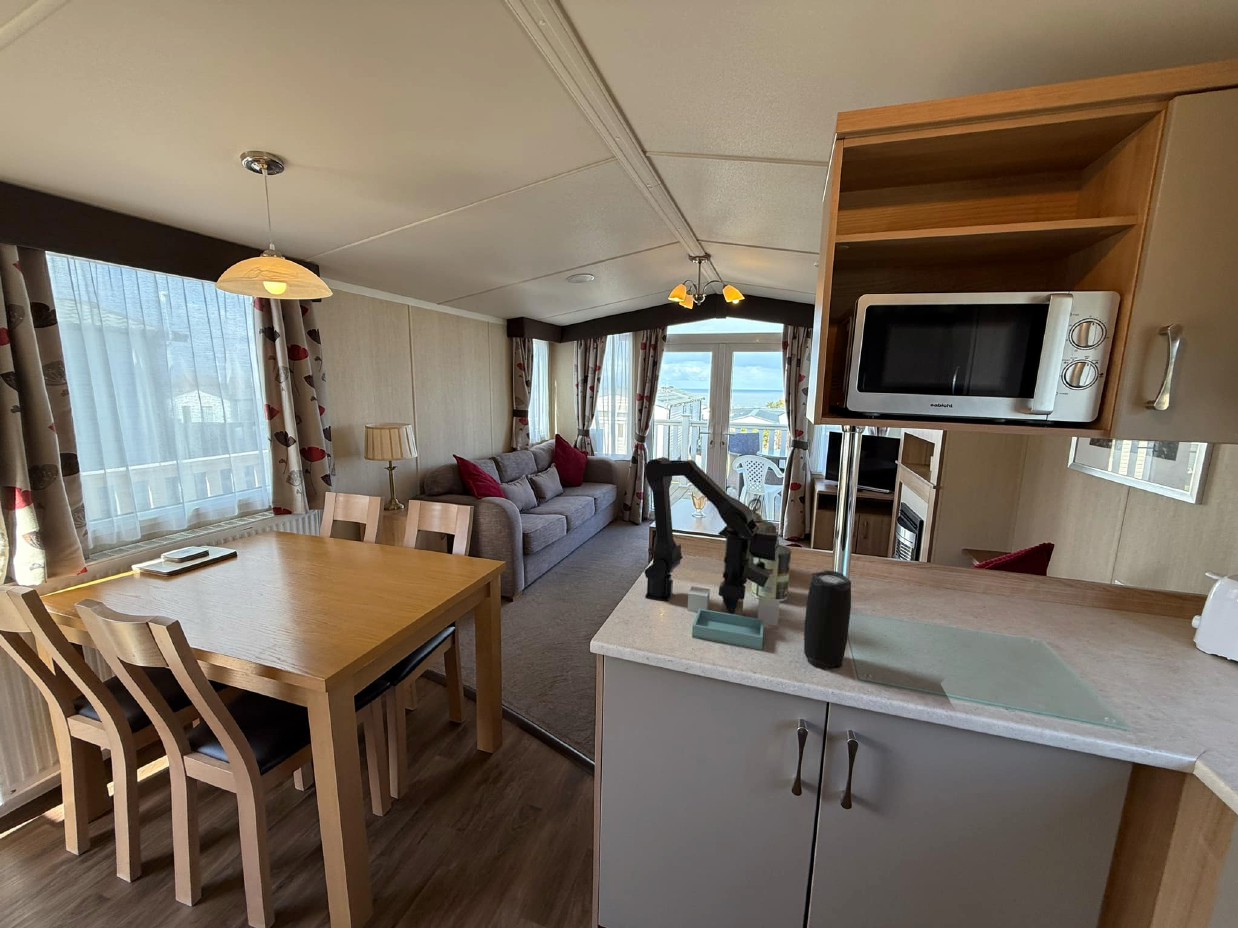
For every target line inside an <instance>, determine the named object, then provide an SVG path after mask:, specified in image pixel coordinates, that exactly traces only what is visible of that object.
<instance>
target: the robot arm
mask: <svg viewBox="0 0 1238 928" xmlns="http://www.w3.org/2000/svg"><path fill="white" fill-rule="evenodd" d="M644 473H645V478H646V481H647V484H648V486H649V488H650V489H651V492H652V501H653V512H654V513H653V514H654V523H655V524H654V525H655V535H656V536H655V537H656V542H655V546H654V549H653V555H652V564H650V566H648V567H647V568H646V569H644V570H643V572H644V576H645V578H646V579H647V583H646V584H647V585H646V594H645V595H644V598H646V599H650V600H656V601H657V600H658V601H662V602H663V601H664V602H667V601H669V600H670V598H671V597H672V595H673V589H674V580H673V579H672V573H673V572H674V570H675V569H676V568H677V567H678V566H679V565H680V564H681V560H682V559H683V555H682V544H676V543H677V542H675V540H674V534H673V520H672V509H671V506H672V505H671V497H670V488H671V484H672V481H673V477H679V476H680V477H685V479H686V480H688V481H689V482H690V483H691V484H692V486H694V488H696V490H698V491H699V492H700V493H701V495H703V496H704V497H705V499H707V500H708V501H709V502H710V503H711V504H712V505H713V506H714V507H715V509H716V510H717V513H718V515H719V516H720V518H721V520H722V521H723V523H725V526H724V528H722V529H721V530H720V531H719V532H718V533H717V534H718V536H722V537H726V538H725V551H724V552H725V553H724V557H723V563H724V565H723V574H722V578H723V580H722V581H721V582H720V584H719V586H718V596H720V597H721V598H722V601H723V600H724V603H725V605H726V608H727V611H728V613H729V614H734V612H735V609H736V605H737V602H738V600H739V599H745V596H746V584H747V583H748V581H750V582H751V583H752V582H754V583H756V584H758V585H759V586H761V587H764V586H765V584H766V582H767V580H768V578H769V571H768V570H765V563H764V562H762V561H759V562H758V563H756V564H755V563H753V564H752V563H750V562H749V558H748V544H749V540H750V544H749V552H750V554H751V555H753V557H755V558H760V559H765V560H770V561H777V559H778V555H779V549H780V545H781V544H780V539H779V534H778V533H776V534H775V533H765V532H758V531H759V530H760V529H759V528H758V526H757V524H756V523H755V521H754V520H753V518H752V511H751V510H752V509H751V508H750V506H749V507H748V505H746V504H745V503H743V502H742V501H740V500H739V499H737V498H735V497H733V496H730V495H729V494H728V493H727V492H726V491H724V490H723V489H722V487H720V486H719V485H718V484H717V483H716V482H715V481H714V480H713V479H712V478H711V477H710V476H709V475H708V474H707V473H706V472H705V471H704V470H702V469H701V467H699V466H698V464H697V463H696V461H694V460H693V459H688V460H680V459H676V460H675V459H674V460H670V459H669V458H667V457H664V456H662V457H657V458H654V459H650V460H648V462H647V463H646V464H645V465H644ZM748 528H749V529H748Z"/></svg>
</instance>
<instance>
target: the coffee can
mask: <svg viewBox="0 0 1238 928" xmlns="http://www.w3.org/2000/svg"><path fill="white" fill-rule="evenodd" d="M779 545H780V549H779V555H778V559H777V561H770V560H765V559H760V558H755V557H754V563H755V564H756V563H758V562H759V561H762V562H764V563H765V570H768V571H769V578H768V580H767V582H766V584H765V586H764V587H761V586H759V585H758V584H756V583H754V582H752V581H751V590H750V592H751V595H752V596H753V597H755V598H757V599H758V598H759V597H765V598H771V599H778V600H779V603H780V602H783V601H786V600H787V599H788V592H789V579H790V578H789V577H790V569H791V567H790V566H791V557H792V556H791V555H792V549H791V548H790V547H788V546H785V545H781V544H779Z"/></svg>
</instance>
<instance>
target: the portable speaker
mask: <svg viewBox="0 0 1238 928" xmlns="http://www.w3.org/2000/svg"><path fill="white" fill-rule="evenodd" d="M807 593H808V595H807V597H806V598H807V599H806V607H805V617H804V618H805V619H804V626H803V627H804V628H803V653H804V655H805V657H806V659H807V662H808V663H809V664H810V665H812V666H813V667H815V668H818V669H820V670H821V669H822V670H827V669H828V668H831V667H836V666H837V667H839V668H841V667H843V662H844V658H845V652H846V647H847V643H848V637H849V627H850V620H851V619H850V618H851V609H852V581H851V580H850V579H849V578H848V577H847V576H845V575H844V574H843V573H841V572H838V571H835V570H829V569H828V570H827V569H826V570H823V571H819V572H812V573H811V580H810V584H809V589H808V592H807Z"/></svg>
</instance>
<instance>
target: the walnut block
mask: <svg viewBox="0 0 1238 928" xmlns="http://www.w3.org/2000/svg"><path fill="white" fill-rule="evenodd" d="M744 599H745V598H744ZM744 599H739V600H738V602H737V605H736V609H735V612H734V615H740V616H743V613H744V612H743V611H744V610H743V609H744ZM721 604H722V608H721V612H722V613H728V611H727V608H726V605H725V603H724V600H723V599H722V603H721ZM728 614H729V613H728Z"/></svg>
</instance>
